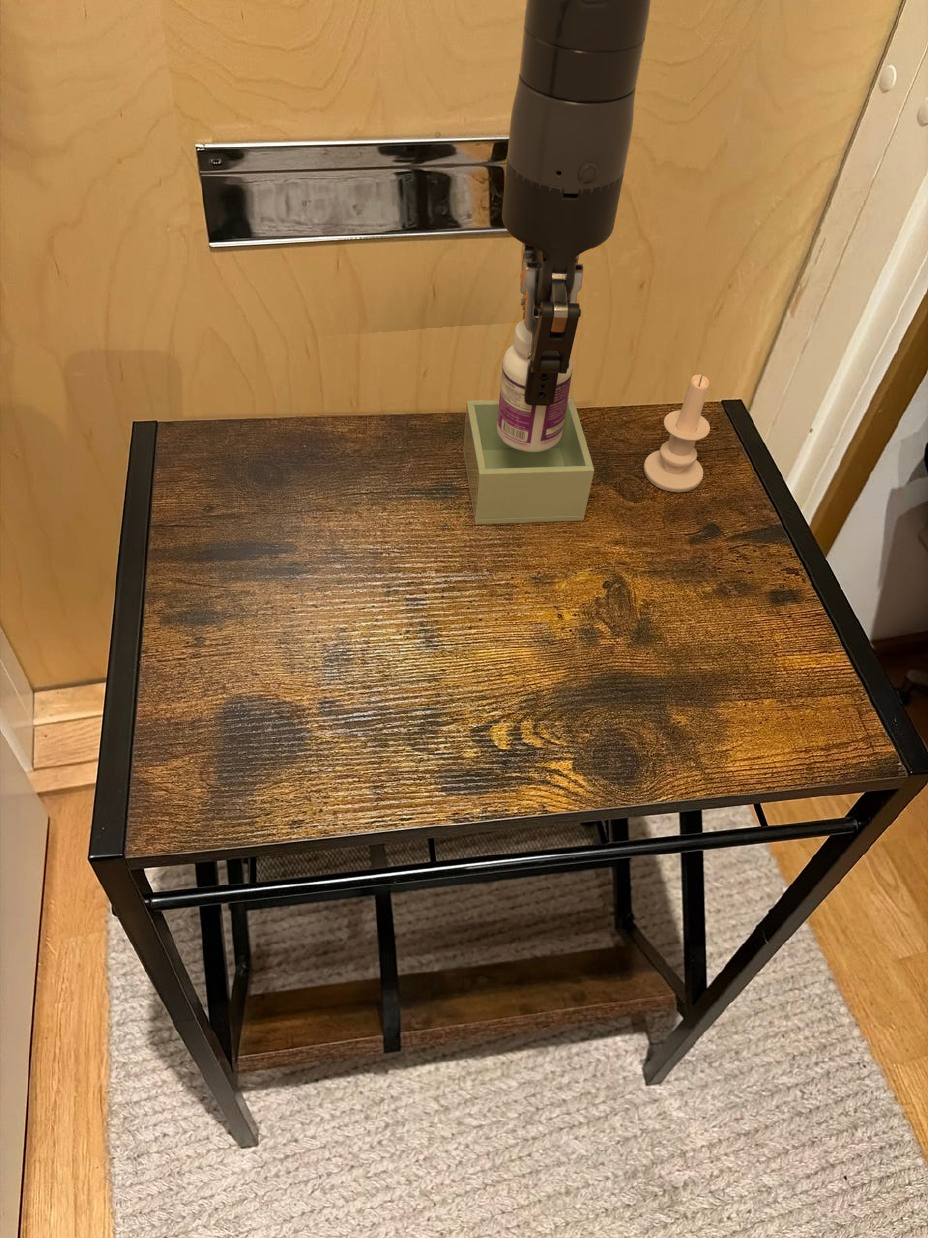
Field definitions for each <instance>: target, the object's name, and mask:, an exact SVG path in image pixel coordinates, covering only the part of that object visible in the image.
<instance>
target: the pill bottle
mask: <svg viewBox="0 0 928 1238" xmlns="http://www.w3.org/2000/svg"><path fill="white" fill-rule="evenodd" d="M534 317H536V318H539V317H538V316H534ZM529 341H530V332H529V331H528V330H527V329H526V327H525V325H524V319H523V318H522V320H520V321H519V322H518V323H517V324H516V326H515V329H514V335H513V340H512V342H513V344H512V345H511V346H510V347H509V348H507V350H506V351H505V353H504V356H503V360H502V365H501V377H500V390H499V399H498V400H499V408H498V419H497V431H498V434H499V436H500V438H501V439H502V440H503V442H504V443H506V444H507V445H509V446H510V447H512V448H514V449H517V450H521V451H525V452H542V451H545V450H548V449H550V448H552V447H553V446H555V445H556V444H557V443H558V441H559V440H560V438H561V436H562V431H563V425H564V420H565V414H566V408H567V402H568V398H569V395H570V389H571V382H572V376H573V371H574V370H573V369H574V367H573V366H574V365H573V359H572V357H571V356H570V360H569V368H568V369H567V373H566V374H560V373H558V379H557V385H556V391H555V398H554V402H553V403H552V404H551V405H549V406H536V405H527V404H526V403H525V399H524V391H525V383H526V376H527V368H528V359H527V352H529Z"/></svg>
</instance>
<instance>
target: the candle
mask: <svg viewBox="0 0 928 1238" xmlns="http://www.w3.org/2000/svg"><path fill="white" fill-rule="evenodd" d="M709 386H710V381H709V379H708V377H706V376H705V375H703V374H695V375H692V376H691V379H690V382H689V384H688V387H687V390H686V393H685V396H684V399H683V402H682V405H681V409H679V410H674V411H671V412H669V413H668V414H666V416H665V417H664V419H663V426H664V428H665V430H666V431H667V432H668V433H669V437H668V440H667V441H665V442H663V443H662V444H661V445H660V449H659V450H656V451H653V452H652V453H650V454H649V455H648V456H647V457H646V458H645V460H644V463H643V468H642V469H643V474H644V475H645V477H646V479H647V480H648V481H649V482H650V484H652V485H654V486H655V487H656V488H658V489H661V490H663V491H666V492H670V493H685V492H689V491H692V490H693V491H694V490H695V489H696V488H697V487H699V486H700V484H701V483H702V481H703V477H704V469H703V466H702V464H701V463H700V462H699V460H697V458H698V451H697V449H696V447H695V446H696V443H697V442H696V441H699V440H702V439H704V438H706V437H708V435H709V434H710V430H711V427H710V423H709V421H708V420H707V419H706V418H705V417H704V416H703V415H702V412H703V408H704V405H705V401H706V398H707V397H706V396H707V393H708V389H709Z"/></svg>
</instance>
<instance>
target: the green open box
mask: <svg viewBox="0 0 928 1238" xmlns="http://www.w3.org/2000/svg"><path fill="white" fill-rule="evenodd" d="M498 408H499V399H477V400H476V399H475V400H471V399H470V400H466V403H465V417H464V430H463V444H462V445H463V446H462V455H463V461H464V467H465V473H466V479H467V484H468V490H469V497H470V502H471V504H470V505H471V509H472V515H473V521H474V526H475V525H476V526H477V525H478V526H479V525H500V524H501V525H502V524H504V525H505V524H527V523H531V524H532V523H553V522H555V523H556V522H579V521H581V522H583V521H584V520H585V515H586V511H587V506H588V501H589V497H590V494H591V493H590V492H591V489H592V483H593V479H594V474H595V468H594V464H593V461H592V457H591V454H590V450H589V447H588V444H587V440H586V437H585V433H584V430H583V427H582V423H581V419H580V416H579V413H578V409H577V406H576V403H575V399H574V398H573V397H568V402H567V408H566V414H565V420H564V425H563V431H562V436H561V438H560V440H559V441H558V443H557V444H556V445H555V446H553V447H552V448H550V449H548V450H545V451H542V452H525V451H521V450H517V449H514V448H512V447H510V446H509V445H507V444H506V443H504V442H503V440H502V439H501V438H500V436H499V434H498V431H497V419H498Z"/></svg>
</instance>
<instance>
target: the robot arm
mask: <svg viewBox="0 0 928 1238" xmlns="http://www.w3.org/2000/svg"><path fill="white" fill-rule="evenodd" d="M650 11H651V0H526V4H525V11H524V12H525V13H524V18H523V19H524V21H523V22H524V24H523V33H522V43H521V52H520V53H521V55H520V64H519V72H518V80H517V85H516V90H515V94H514V99H513V103H512V108H511V114H510V121H509V122H510V123H509V132H508V134H509V135H508V146H507V154H506V155H507V156H506V167H505V177H504V188H503V197H502V207H501V209H502V210H501V220H502V223H503V226H504V228H505V229H506V231H507V232H508V233H509V234H510V235H511V236H512V237H513V238H514V239H515V240H517V241H518V242H520V243H522V245H521V251H520V255H521V256H520V257H521V259H520V261H521V264H520V265H521V269H520V275H519V292H520V293H521V294H522V298H521V299H520V306H521V307H522V308H521V310H522V311H523V314H522V320H523V319H524V325H525V327H526V329H527V330H528V331H529V332H530V341H529V352H527V359H528V368H527V376H526V383H525V391H524V399H525V403H526V404H527V405H536V406H549V405H551V404H552V403H553V402H554V398H555V391H556V385H557V379H558V373H560V374H566V373H567V369H568V368H569V360H570V357H571V355H572V351H573V347H574V342H575V338H576V333H577V328H578V325H579V320H580V318H581V317H582V309H581V308H580V307H581V306H580V303H579V302H578V294H579V292H580V291H581V289H582V287H583V279H584V264H583V263H579V260H580V255H581V254H583V253H584V252H586V251H589V250H591V249H592V250H593V249H595V248H597V247H599V246H601V245H603V244H604V243H605V242H607V240H608V239H609V238H610V237H611V236H612V233H613V231H614V228H615V223H616V218H617V213H618V207H619V203H620V202H619V201H620V198H621V197H620V196H621V191H622V185H623V180H624V175H625V169H626V166H627V161H628V160H627V159H628V154H629V148H630V144H631V139H632V133H633V126H634V125H633V124H634V114H635V97H636V89H637V84H638V79H639V73H640V69H641V63H642V57H643V52H644V46H645V42H646V36H647V30H648V23H649V17H650ZM577 302H578V303H577ZM534 316H538V317H539V318H536V317H534Z"/></svg>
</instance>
